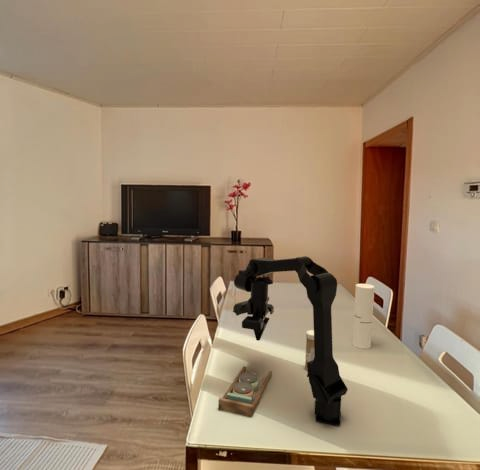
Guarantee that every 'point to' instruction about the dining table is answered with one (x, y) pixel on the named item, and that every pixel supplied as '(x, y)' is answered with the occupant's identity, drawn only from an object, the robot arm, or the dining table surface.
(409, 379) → the dining table surface
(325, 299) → the robot arm
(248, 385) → the terracotta jar
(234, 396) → the pusher
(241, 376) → the green jar
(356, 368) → the dining table surface
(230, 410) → the lane
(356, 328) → the cylindrical container
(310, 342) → the sprinkles bottle
